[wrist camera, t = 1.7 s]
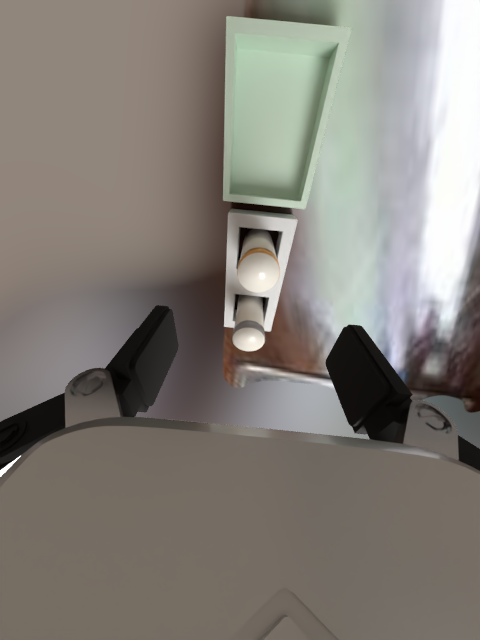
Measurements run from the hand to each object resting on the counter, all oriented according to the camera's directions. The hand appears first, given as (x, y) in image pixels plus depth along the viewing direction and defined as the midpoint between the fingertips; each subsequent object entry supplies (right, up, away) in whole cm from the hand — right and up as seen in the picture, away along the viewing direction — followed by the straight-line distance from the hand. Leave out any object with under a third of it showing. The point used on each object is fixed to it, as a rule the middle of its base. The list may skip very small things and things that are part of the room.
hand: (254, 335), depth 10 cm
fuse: (+1, +4, +18) cm, 18 cm away
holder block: (+1, +7, +15) cm, 17 cm away
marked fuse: (+1, +10, +13) cm, 16 cm away
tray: (+2, +18, +7) cm, 19 cm away
